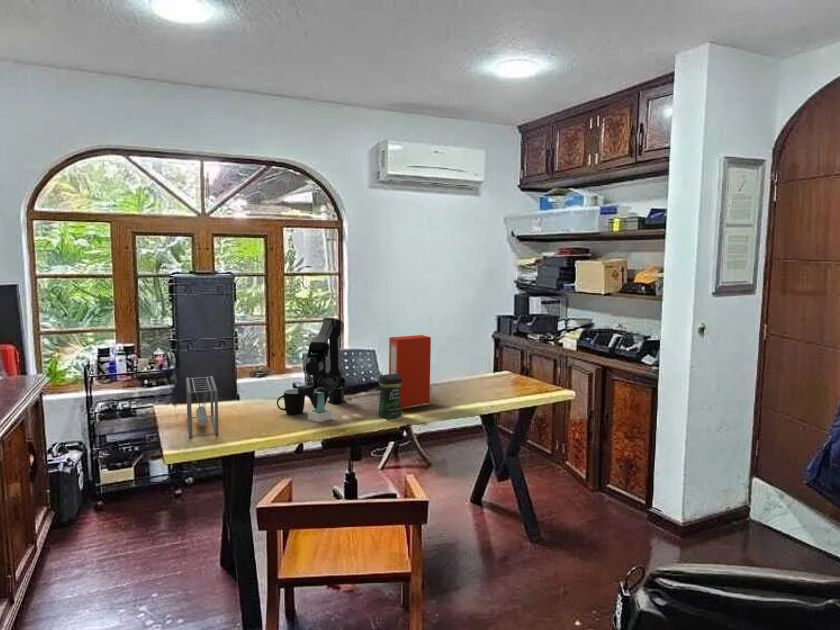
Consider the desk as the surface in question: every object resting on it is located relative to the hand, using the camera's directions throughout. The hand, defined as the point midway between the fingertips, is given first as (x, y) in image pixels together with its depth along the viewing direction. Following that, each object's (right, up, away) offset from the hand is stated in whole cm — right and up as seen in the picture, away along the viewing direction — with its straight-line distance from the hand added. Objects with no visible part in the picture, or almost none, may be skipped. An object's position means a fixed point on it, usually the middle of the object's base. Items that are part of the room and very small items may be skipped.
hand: (319, 407), depth 244 cm
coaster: (+14, -5, +4) cm, 15 cm away
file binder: (+37, -4, +25) cm, 45 cm away
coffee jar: (+29, -5, +7) cm, 30 cm away
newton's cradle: (-45, -6, -10) cm, 47 cm away
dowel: (0, -5, 0) cm, 5 cm away
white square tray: (0, -6, +1) cm, 6 cm away
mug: (-14, -5, +9) cm, 17 cm away
